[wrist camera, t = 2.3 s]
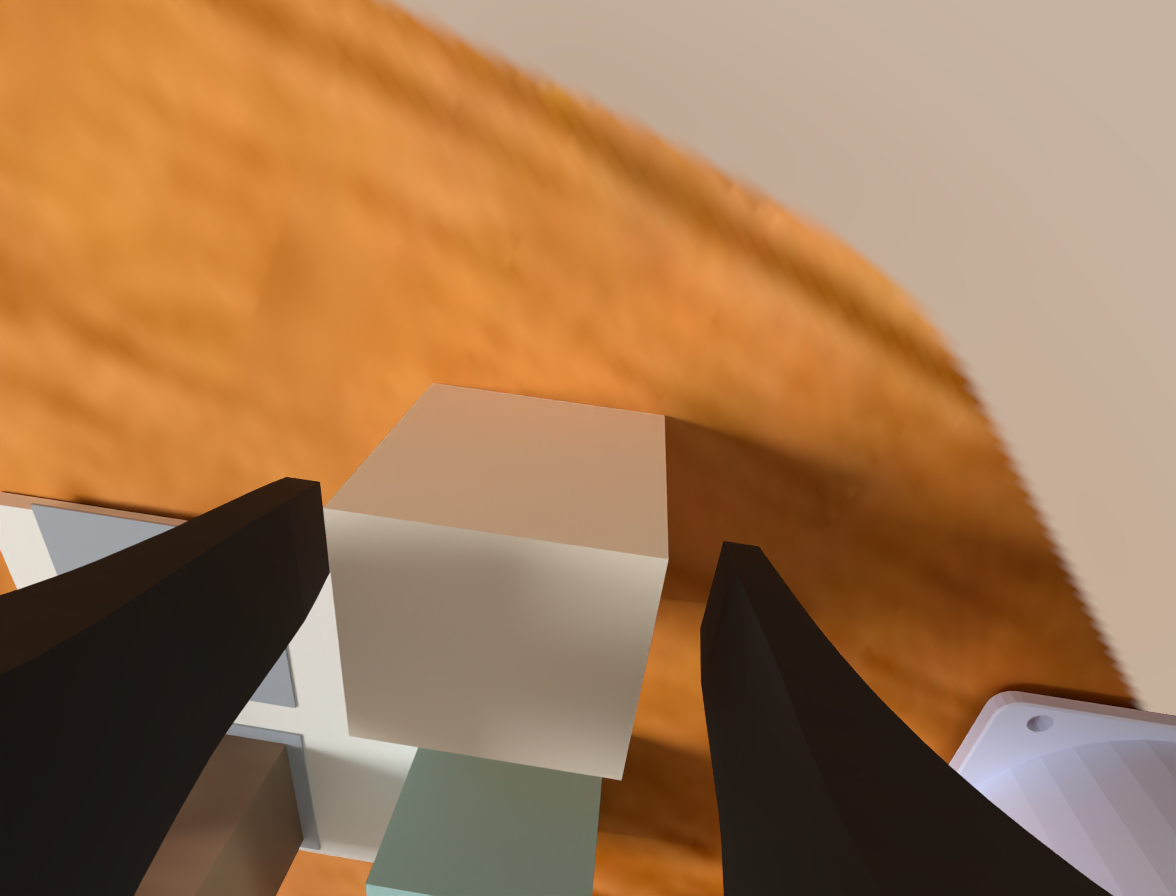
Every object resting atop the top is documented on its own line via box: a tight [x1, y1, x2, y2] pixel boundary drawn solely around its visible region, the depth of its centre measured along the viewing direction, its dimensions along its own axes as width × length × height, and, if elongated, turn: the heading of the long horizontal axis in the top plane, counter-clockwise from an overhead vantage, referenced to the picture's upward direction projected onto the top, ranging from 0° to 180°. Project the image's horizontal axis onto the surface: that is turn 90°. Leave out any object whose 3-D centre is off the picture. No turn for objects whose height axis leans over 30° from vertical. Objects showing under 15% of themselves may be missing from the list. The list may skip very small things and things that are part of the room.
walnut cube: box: [134, 734, 304, 896], centre depth 16 cm, size 4×4×4 cm
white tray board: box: [0, 492, 418, 863], centre depth 17 cm, size 10×12×1 cm
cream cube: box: [323, 383, 669, 780], centre depth 11 cm, size 4×4×4 cm
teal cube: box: [366, 747, 602, 896], centre depth 15 cm, size 4×4×4 cm
